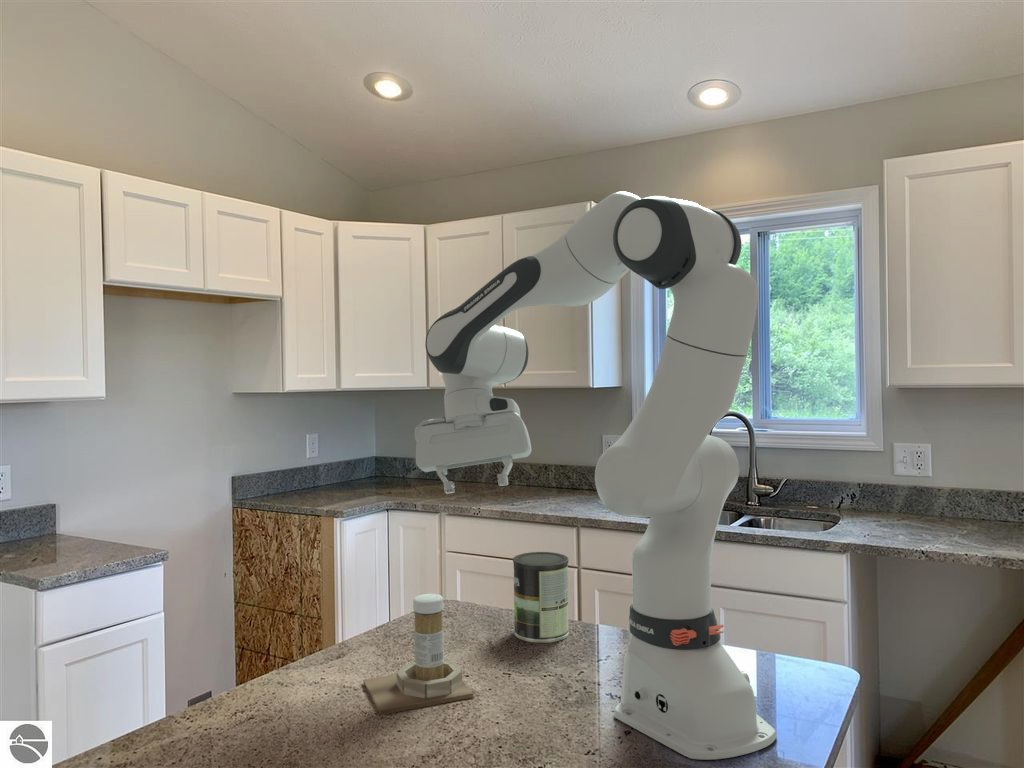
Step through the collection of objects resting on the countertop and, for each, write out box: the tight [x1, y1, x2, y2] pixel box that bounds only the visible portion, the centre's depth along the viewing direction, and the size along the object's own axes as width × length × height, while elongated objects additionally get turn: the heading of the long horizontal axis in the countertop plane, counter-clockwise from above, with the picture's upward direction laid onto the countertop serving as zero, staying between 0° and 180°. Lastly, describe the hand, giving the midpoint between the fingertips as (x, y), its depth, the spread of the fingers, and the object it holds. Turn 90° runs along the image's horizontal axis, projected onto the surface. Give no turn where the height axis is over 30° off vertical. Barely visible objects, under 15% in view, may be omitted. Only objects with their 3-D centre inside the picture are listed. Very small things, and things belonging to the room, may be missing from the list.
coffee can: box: [512, 551, 570, 644], centre depth 139 cm, size 10×10×14 cm
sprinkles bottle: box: [412, 593, 445, 681], centre depth 115 cm, size 5×5×13 cm
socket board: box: [362, 660, 474, 716], centre depth 115 cm, size 12×14×3 cm
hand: (476, 488), depth 128 cm, fingers open, 8 cm apart
